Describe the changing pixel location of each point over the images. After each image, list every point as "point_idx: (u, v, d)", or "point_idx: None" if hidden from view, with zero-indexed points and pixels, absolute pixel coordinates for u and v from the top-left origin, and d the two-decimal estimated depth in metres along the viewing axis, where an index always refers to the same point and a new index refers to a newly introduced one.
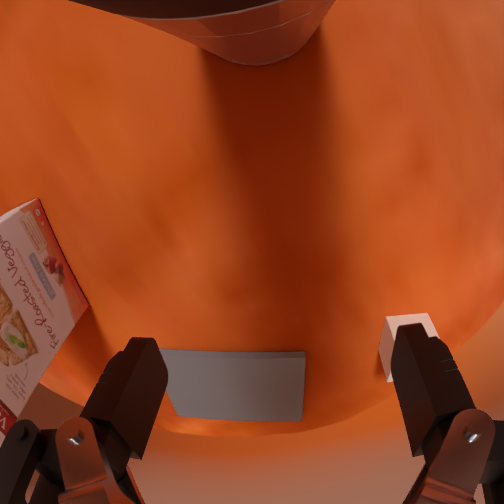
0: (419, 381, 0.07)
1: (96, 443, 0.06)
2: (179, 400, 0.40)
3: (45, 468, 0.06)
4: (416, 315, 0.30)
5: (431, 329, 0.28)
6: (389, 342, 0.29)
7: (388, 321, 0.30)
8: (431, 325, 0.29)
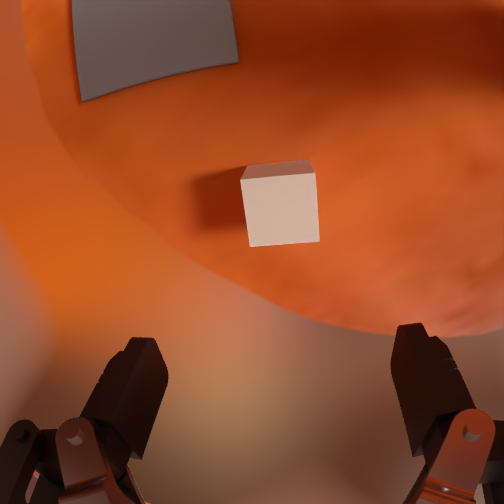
0: (419, 381, 0.07)
1: (96, 443, 0.06)
2: None
3: (45, 468, 0.06)
4: None
5: None
6: (294, 167, 0.23)
7: None
8: None
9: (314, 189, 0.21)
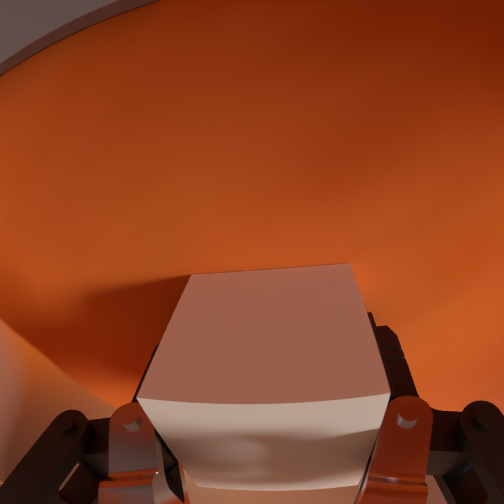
0: None
1: None
2: None
3: (94, 461, 0.06)
4: None
5: None
6: (315, 322, 0.07)
7: (354, 278, 0.09)
8: None
9: (375, 425, 0.06)
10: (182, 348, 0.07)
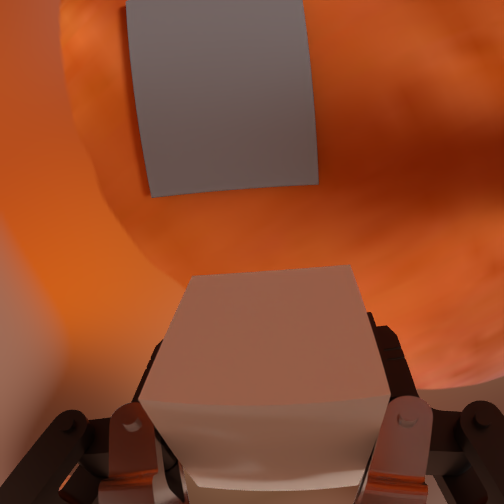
0: None
1: None
2: None
3: (94, 460, 0.06)
4: None
5: None
6: (316, 323, 0.07)
7: (354, 280, 0.09)
8: None
9: (375, 425, 0.06)
10: (183, 349, 0.07)
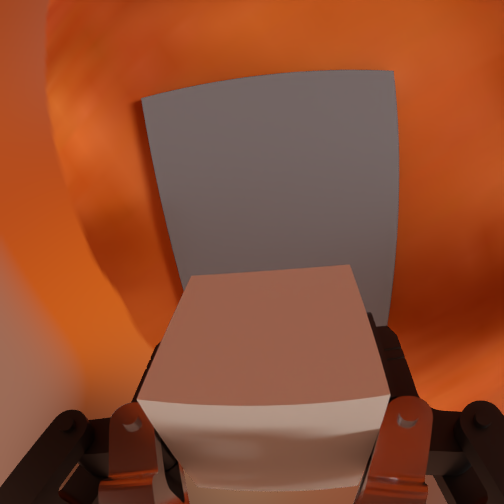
0: None
1: None
2: (218, 104, 0.16)
3: (94, 460, 0.06)
4: None
5: None
6: (315, 324, 0.07)
7: (354, 279, 0.09)
8: None
9: (374, 426, 0.06)
10: (182, 350, 0.07)
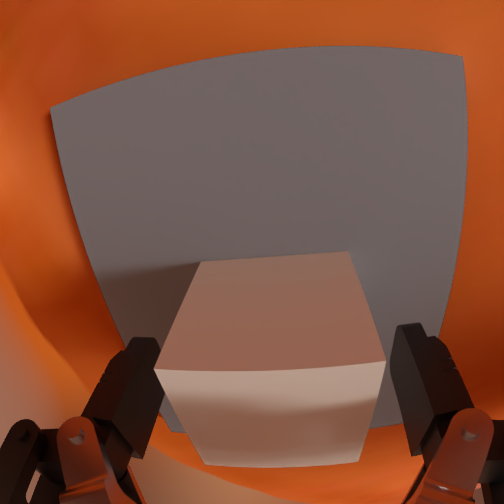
0: (418, 380, 0.07)
1: (97, 442, 0.06)
2: (162, 109, 0.09)
3: (46, 468, 0.06)
4: None
5: None
6: (317, 301, 0.08)
7: (352, 264, 0.10)
8: None
9: (372, 394, 0.06)
10: (195, 325, 0.08)
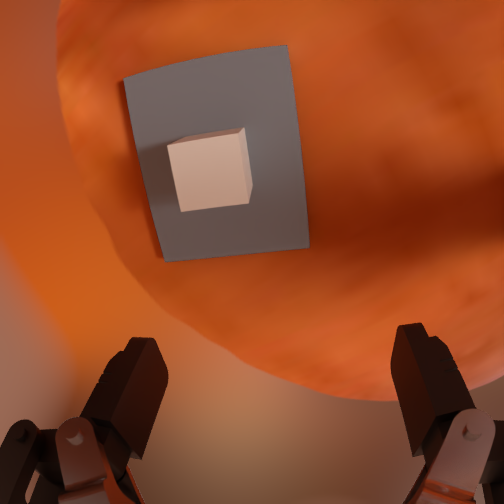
0: (419, 381, 0.07)
1: (96, 443, 0.06)
2: (172, 78, 0.23)
3: (45, 468, 0.06)
4: (250, 169, 0.26)
5: (249, 188, 0.24)
6: (224, 132, 0.22)
7: (243, 128, 0.24)
8: (250, 189, 0.25)
9: (238, 149, 0.21)
10: (181, 140, 0.22)
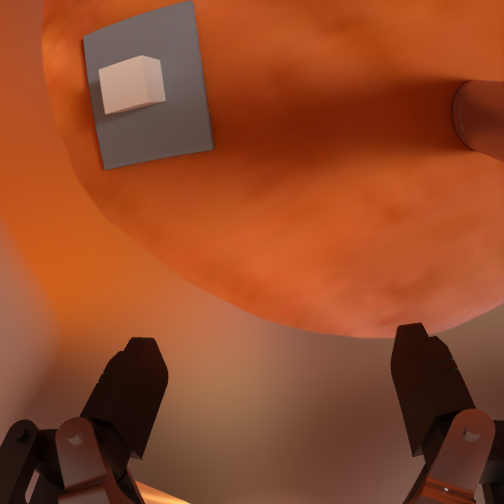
0: (419, 381, 0.07)
1: (96, 443, 0.06)
2: (113, 33, 0.27)
3: (45, 468, 0.06)
4: (163, 89, 0.30)
5: (156, 97, 0.29)
6: None
7: (157, 59, 0.28)
8: (158, 99, 0.29)
9: (141, 66, 0.25)
10: None
